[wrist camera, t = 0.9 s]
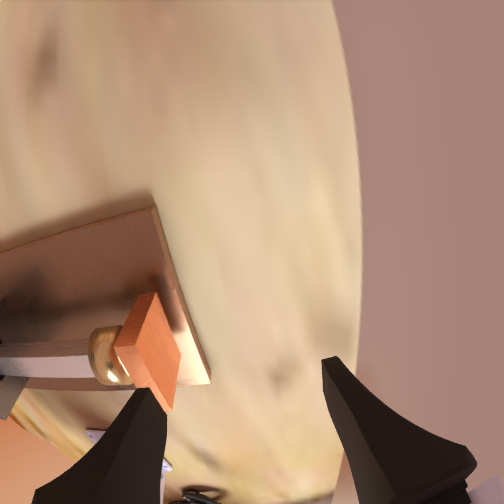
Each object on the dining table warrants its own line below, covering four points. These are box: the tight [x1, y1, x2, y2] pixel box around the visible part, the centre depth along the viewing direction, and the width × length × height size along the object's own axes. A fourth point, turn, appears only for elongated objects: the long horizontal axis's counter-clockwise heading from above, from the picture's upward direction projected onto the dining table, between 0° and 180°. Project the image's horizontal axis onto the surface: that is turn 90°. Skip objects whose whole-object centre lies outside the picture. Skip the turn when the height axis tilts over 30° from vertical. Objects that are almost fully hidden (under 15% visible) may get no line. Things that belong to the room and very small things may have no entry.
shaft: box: [0, 292, 181, 412], centre depth 16 cm, size 19×5×5 cm, turn 100°
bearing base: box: [0, 206, 211, 420], centre depth 16 cm, size 28×14×9 cm, turn 100°
